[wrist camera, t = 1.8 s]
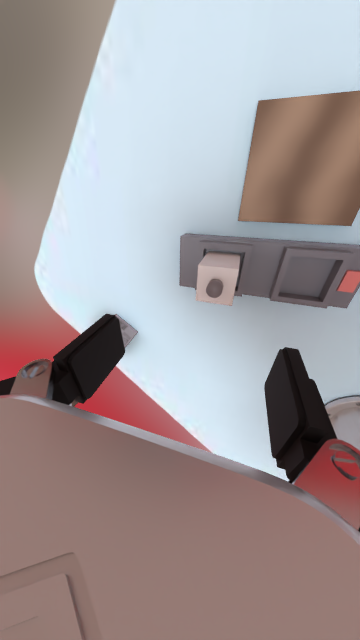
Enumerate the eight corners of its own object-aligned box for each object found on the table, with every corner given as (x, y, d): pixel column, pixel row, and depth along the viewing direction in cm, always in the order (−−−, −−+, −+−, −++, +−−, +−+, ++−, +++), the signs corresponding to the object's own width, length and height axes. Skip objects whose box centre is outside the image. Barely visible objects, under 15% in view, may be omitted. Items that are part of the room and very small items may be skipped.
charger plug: (240, 253, 23) (238, 273, 17) (234, 282, 25) (231, 311, 19) (209, 250, 24) (195, 268, 17) (206, 279, 26) (193, 305, 20)
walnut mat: (409, 91, 15) (418, 84, 14) (346, 224, 21) (351, 225, 20) (257, 105, 18) (258, 100, 17) (238, 220, 23) (238, 220, 23)
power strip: (368, 245, 21) (390, 253, 18) (338, 299, 25) (352, 314, 22) (185, 233, 26) (177, 237, 23) (183, 280, 30) (176, 289, 27)
